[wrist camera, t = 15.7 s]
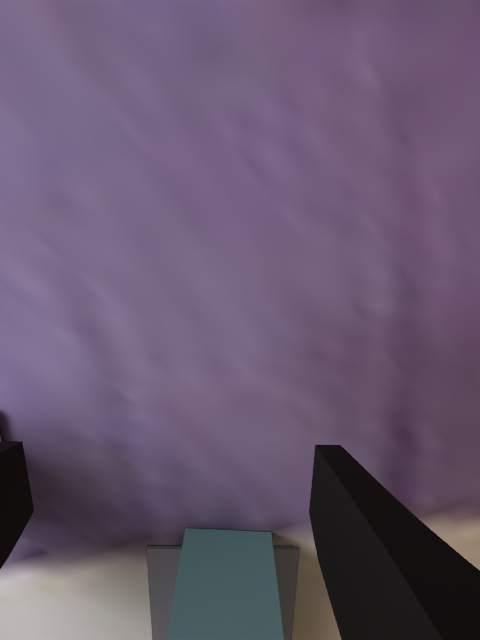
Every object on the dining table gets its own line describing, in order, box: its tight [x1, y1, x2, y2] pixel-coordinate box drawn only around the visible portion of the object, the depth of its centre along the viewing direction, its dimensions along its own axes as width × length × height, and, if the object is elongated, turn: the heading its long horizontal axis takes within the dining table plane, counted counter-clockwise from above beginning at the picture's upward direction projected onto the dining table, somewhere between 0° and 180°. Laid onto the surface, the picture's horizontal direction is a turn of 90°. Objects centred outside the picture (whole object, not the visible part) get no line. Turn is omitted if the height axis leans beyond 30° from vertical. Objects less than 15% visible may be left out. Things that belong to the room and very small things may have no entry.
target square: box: [146, 546, 299, 640], centre depth 22 cm, size 10×10×1 cm
